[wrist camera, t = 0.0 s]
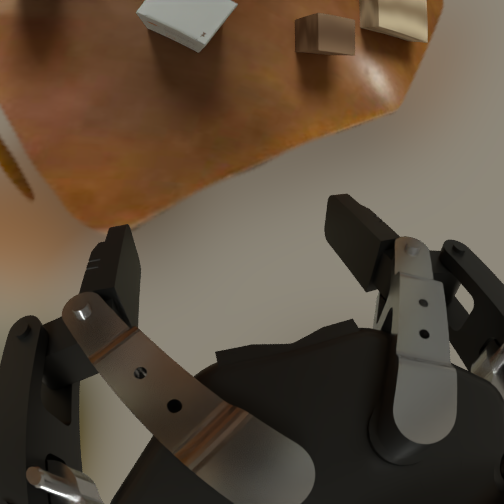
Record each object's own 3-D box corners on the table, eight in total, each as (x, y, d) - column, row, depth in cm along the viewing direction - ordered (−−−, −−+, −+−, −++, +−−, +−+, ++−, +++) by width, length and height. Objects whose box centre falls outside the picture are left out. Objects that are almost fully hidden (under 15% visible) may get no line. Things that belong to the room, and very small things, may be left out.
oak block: (356, -26, 25) (376, -31, 21) (405, -8, 27) (425, -10, 23) (359, 27, 31) (378, 26, 27) (406, 41, 33) (427, 42, 29)
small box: (223, 21, 27) (241, 4, 19) (198, 54, 30) (206, 47, 21) (170, -6, 23) (170, -32, 15) (145, 28, 26) (134, 12, 17)
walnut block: (294, 19, 29) (318, 12, 23) (327, 24, 30) (354, 19, 24) (295, 52, 32) (318, 50, 26) (327, 55, 33) (354, 55, 27)
